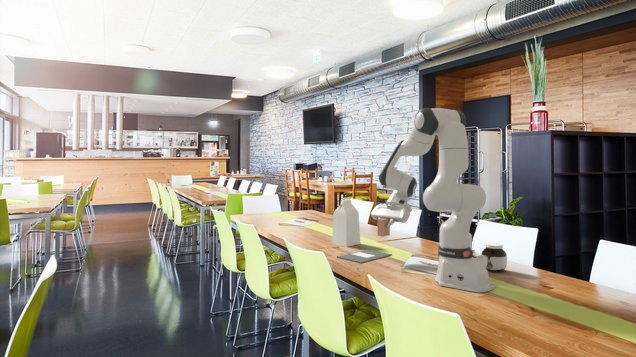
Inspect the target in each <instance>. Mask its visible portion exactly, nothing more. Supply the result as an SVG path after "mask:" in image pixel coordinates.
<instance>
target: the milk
mask: <svg viewBox="0 0 636 357" xmlns="http://www.w3.org/2000/svg"><path fill="white" fill-rule="evenodd" d="M332 216H333V217H332V235H331V236H332V238H331V244H332V245H337V246H341V247H352V246H355V245H356V246H357V245H361V232H360V230H361V229H360V214H359V211H358V209H357V208H356V207H355V205H353V204H352V200H351V198H348V199H347V198H346V199H341V202H340V204H339V206H337V208H335V210H334V211H333V215H332Z"/></svg>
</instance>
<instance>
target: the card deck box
mask: <svg viewBox="0 0 636 357" xmlns="http://www.w3.org/2000/svg"><path fill="white" fill-rule="evenodd" d="M388 222H390V219H387V218H382V219H378V220H377V224H378V226H377V236H378V237H388V236H390V235H391V229H390V228H391V226H390V227H389V228H386V226H385V225H386V223H388Z"/></svg>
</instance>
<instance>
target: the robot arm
mask: <svg viewBox="0 0 636 357" xmlns="http://www.w3.org/2000/svg"><path fill="white" fill-rule="evenodd" d="M412 125H413V126H412V128H411V130H410V132H409V135H408V137H407V138H406V139H402V140H400V141H399V143H397V145H396V147H395V148H394V150H393V152H392V153H391V155H390V157H389V158H388V159H387V162H386V164H385V165H384V167H383V168H381V171H380V173H379V175H378V181H379V183H380V185H382V186H384V187H387V188H390V189H392V190H393V191H392V193H391V194H390V196H389V197H388V199H387V200H386V202H385V203H380V204H377V205H376V206H375V207H374V208H373V209H372V211H371V213H370V216H371V218H372V219H373V220H377V221H378V219H382V218H387V219H390V222H388V223H386V225H385V226H386V228H389V227H390V228H391V226H392V225H393V224H395V223H400V224H401V223H403V224H404V223H406V222H408V220H409V218H410V216H411V213H412V212H413V209H412V207H411V205H410V204H409V202H408V200H409V199H410V198H411V197H412V196H413V195H414V193H415V191H416V189H417V188H418V187H417V186H418V182H417V178H415V177H414V176H413V175H410V174H408V173H405V172H403V171H401V170H399V169H397V168H396V167H395V166H396V164H397V163H398V162H399V160H400V158H401V157H404V156H413V157H419V156H423V155H425V154H427V153H428V152H429V151H430V149H431V148H432V146H433V144H434V141H435V139H436V136H437V138H438V149H439V150H438V169H437V173H436V176H435V178H434V180H433V181H432V182H431V184H430V185H429V186H428V187H426V188H425V190H424V191H423V194H422V201H423V205H424V206H425V208H426V209H427V211H432V212H438V213H451V214H450V216H449V217H448V219H447V220H445V221H444V222H442V223H441V224H440V227H439V244H438V249H437V250H438V252H437V254H438V265H437V270H436V271H437V272H436V274H435V278H434V280H435V281H436V283H438V285H439V286H441V287H447V288H451V289H458V290H463V291H468V292H472V293H473V292H474V293H487V292H489V291H492V290H493V289H495V288H496V283H495V282H494V281H490V276H489V271H487V269H486V268H485V267H483V266H482V265H481V264H480V263H479V262H478V261H477V260H476V259H475V257H474V253H475V251H476V250H475V249H472V250H471V249H470V247H469V233H470V230H471V229H470V228H471V224H472V221H473V219H474V218H475V216H476V214H478V212H479V211H480V210H482V208H484V206H485V204H486V201H487V194H486V192H485V190H484V188H483V187H482V186H481V185H476V184H471V183H457V182H458V179H459V177H460V175H462V174H464V173H465V172H467V170H468V168H469V142H468V135H467V134H468V133H467V130H466V125H467V117H466V115H465V113H464V112H462V111H460V110H458V109H457V110H456V109H447V108H441V107H434V108H429V107H425V108H421V109H419V110H417V112H416V113H415V116H414V122H413V124H412ZM376 224H377V226H376V227H378V223H376Z"/></svg>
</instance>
